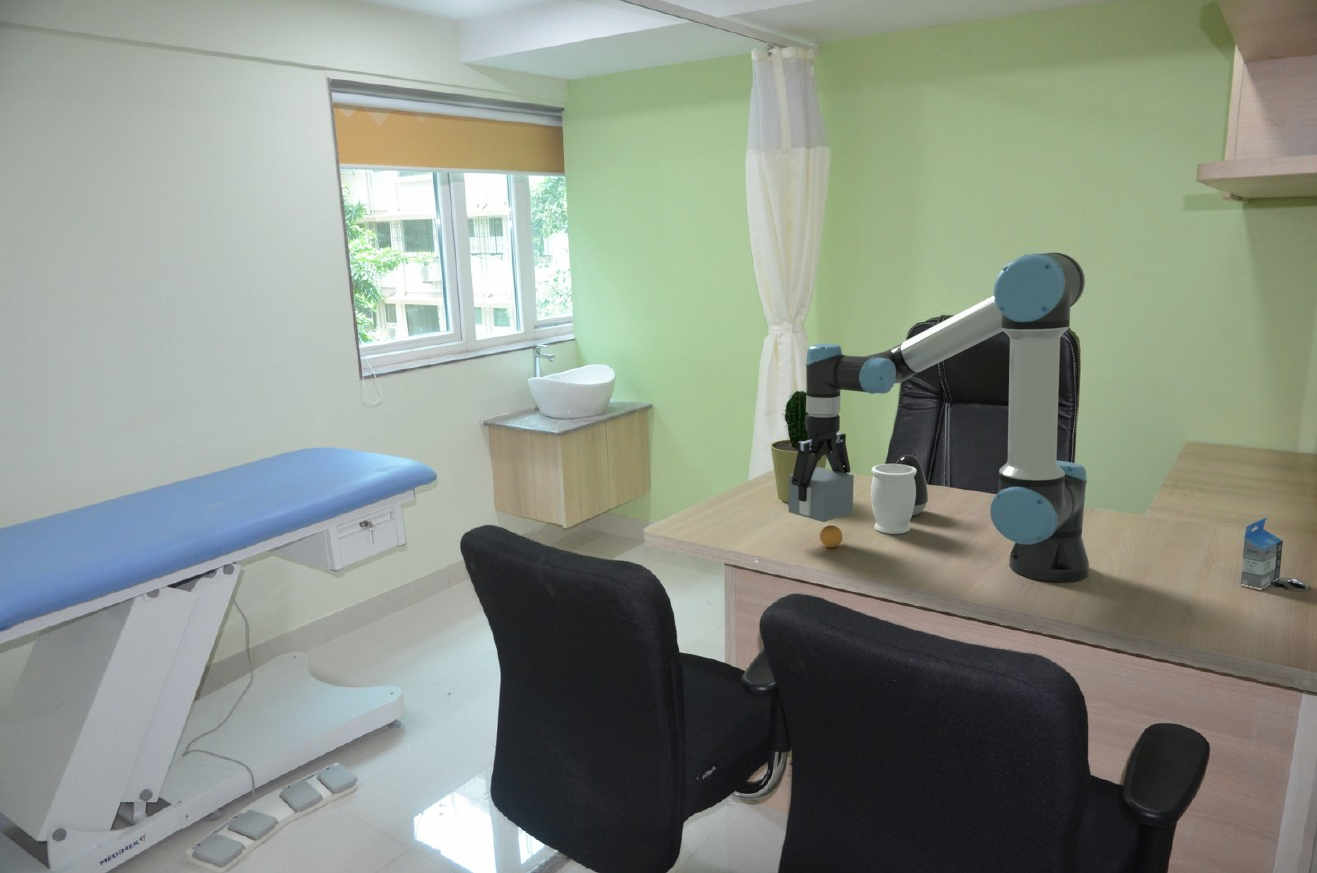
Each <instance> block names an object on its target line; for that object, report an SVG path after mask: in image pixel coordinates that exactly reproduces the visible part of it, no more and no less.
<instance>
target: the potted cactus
mask: <svg viewBox="0 0 1317 873" xmlns="http://www.w3.org/2000/svg"><path fill="white" fill-rule="evenodd" d="M794 391H795V390H794ZM794 391H793V390H791V392H790V394H789V395H788V397H789V398H788V401H787V402H786V405H785V409H782V408H781V410H783V411H784V412H785V413H782V415H784V416H783V420H784V422H785V423H786V425H785V426H784V427H783V428H785V429H786V431H787V433H786V435H787V436H788V438H787V439H781V440H777V441H773V442H772V443H770V445H769V446H770V452H771V456H772V457H771V458H772V465H773V471H774V472H773V473H774V478H775V485H776V486H775V487H776V492H777V498H778V500H779V499H780V500H782V501H784V502H783V503H785V502H787V503H786V504H789V475H791V474H793V473H794V468H795V463H796V459H797V454H798V442H799V441H803V442H804V441H807V440H808V436H809V433H808V432H807V431H806V415H807V414H809V413H807V412H806V392H805V391H804V390H799V391H798V390H797V391H795V392H794ZM812 454H813V453H812ZM813 455H814V454H813ZM827 461H828V459H827V457H826V455H824V456H822V457H821V459H820V460H819V461H818V462H817V465H816V468H817V467H820V468H825V469H826V466H827ZM780 500H779V501H780ZM782 501H781V502H782Z"/></svg>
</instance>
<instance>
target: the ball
mask: <svg viewBox="0 0 1317 873" xmlns="http://www.w3.org/2000/svg"><path fill="white" fill-rule="evenodd" d="M819 539H820V541H821V543H822V544H823V545H824V546H825V547H828V548H836V547H838V546H839V545H840V544H841V543H842V541H843V533H842V530H841V529H840V528H839V527H838V526H836V525H831V524H830V525H826V526H825V527H823V528H822V529H821V531H820V532H819Z"/></svg>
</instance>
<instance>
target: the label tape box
mask: <svg viewBox="0 0 1317 873" xmlns="http://www.w3.org/2000/svg"><path fill="white" fill-rule="evenodd" d="M1266 520H1267V517H1264V518H1262V519H1259V520H1256V521H1255V522H1252V523H1250V524H1248V525H1246V527H1245V531H1244V536H1243V548H1242V558H1241V559H1242V561H1241V572H1240V585H1241V584H1245V585H1248V586H1252V587H1257V588H1263V587H1266V586H1267V585H1268V584H1269V583H1270V582H1273V581H1274V580H1275V579H1276V578H1279V579H1280V576H1281V566H1282V565H1281V564H1282V554H1283V545H1284V544H1283V540H1282V539H1280V537H1277V536H1276V535H1274V534H1272V533H1271V532H1269V531H1267V529H1266V530H1265V529H1264V527H1265V524H1266ZM1255 528H1256V529H1255ZM1253 529H1254V530H1253Z"/></svg>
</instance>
